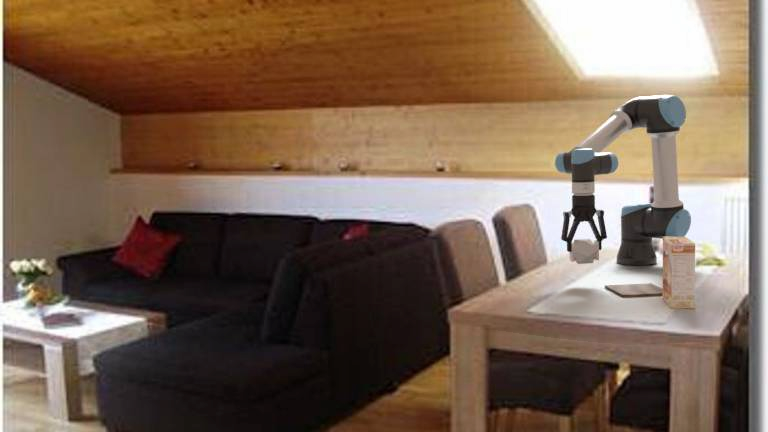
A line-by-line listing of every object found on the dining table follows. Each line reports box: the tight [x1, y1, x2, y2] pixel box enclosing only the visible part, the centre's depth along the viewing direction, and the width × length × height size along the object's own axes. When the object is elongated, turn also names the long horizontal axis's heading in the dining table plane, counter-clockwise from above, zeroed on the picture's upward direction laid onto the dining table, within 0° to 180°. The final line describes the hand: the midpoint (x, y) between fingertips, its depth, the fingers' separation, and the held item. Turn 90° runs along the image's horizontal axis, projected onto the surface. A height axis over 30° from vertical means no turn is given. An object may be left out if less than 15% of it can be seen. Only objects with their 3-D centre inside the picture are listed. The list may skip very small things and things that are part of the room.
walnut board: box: [604, 283, 663, 298], centre depth 263 cm, size 16×16×1 cm
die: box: [568, 238, 598, 265], centre depth 276 cm, size 8×9×10 cm
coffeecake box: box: [661, 236, 696, 309], centre depth 244 cm, size 15×7×20 cm, turn 170°
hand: (584, 260), depth 276 cm, fingers closed on die, 8 cm apart
